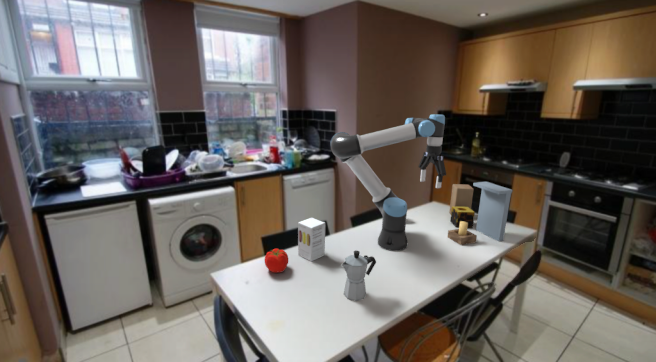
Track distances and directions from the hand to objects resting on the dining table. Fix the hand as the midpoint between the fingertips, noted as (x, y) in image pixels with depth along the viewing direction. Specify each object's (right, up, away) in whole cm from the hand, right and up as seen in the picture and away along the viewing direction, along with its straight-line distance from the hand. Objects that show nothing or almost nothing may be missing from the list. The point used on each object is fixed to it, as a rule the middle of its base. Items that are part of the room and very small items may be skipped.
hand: (430, 184), depth 170 cm
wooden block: (+30, -21, +35) cm, 50 cm away
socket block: (+17, -30, 0) cm, 34 cm away
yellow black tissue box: (+25, -25, +21) cm, 41 cm away
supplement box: (-62, -34, -18) cm, 73 cm away
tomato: (-77, -37, -31) cm, 91 cm away
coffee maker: (-43, -42, -47) cm, 76 cm away
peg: (+17, -30, 0) cm, 34 cm away
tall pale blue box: (+32, -28, +6) cm, 43 cm away
